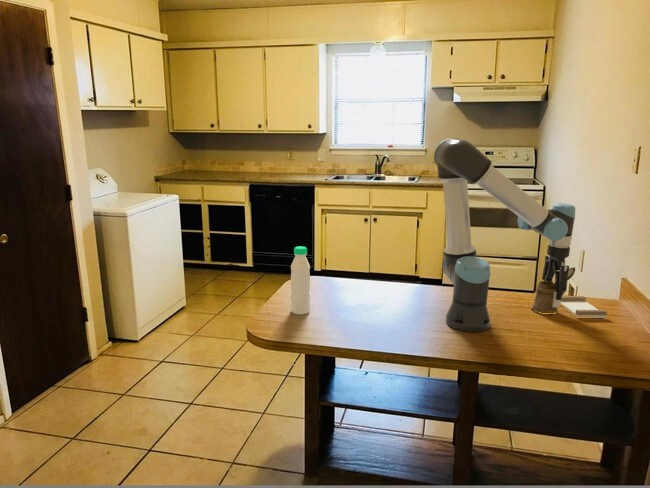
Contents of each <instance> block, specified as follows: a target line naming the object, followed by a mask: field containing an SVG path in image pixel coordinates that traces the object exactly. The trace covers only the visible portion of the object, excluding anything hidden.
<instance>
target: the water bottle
mask: <svg viewBox="0 0 650 488" xmlns="http://www.w3.org/2000/svg"><path fill="white" fill-rule="evenodd" d="M293 253H294V258H293V260H292V263H291V265H290V272H291V273H290V289H291V290H290V291H291V294H290V302H291V303H290V312H291V313H293V314H294V315H306V314H309V312H310V309H311V308H310V307H311V305H310V299H311V296H310V290H311V289H310V288H311V274H310V270H311V265H310V263H309V261H308V258H307V257H306V256H307V255H308V248H307V246H301V245H300V246H296V247H295V246H294V248H293Z"/></svg>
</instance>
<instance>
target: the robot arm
mask: <svg viewBox="0 0 650 488" xmlns="http://www.w3.org/2000/svg"><path fill="white" fill-rule="evenodd" d="M433 160H434V163H435V165H436V167H437V169H436V170H437V178H438V180H439V181H441V182H442V189H443V203H444V212H445V214H444V215H445V228H446V241H447V246H445V247H444V249H443V255H444V256H443V259H442V270H443V272H444V274H445V276H446V278H447V279H449V281H450V282H451V283H452V284H453V291H452V292H453V293H452V301H451V304H450V306H449V308H448V310H447V312H446V314H445V323H446V325H448V326H449V327H451V328H452V329H455V330H458V331H461V332H466V333H480V332H486V331H487V330H489V329H490V326H491V325H490V324H491V318H490V314H489V311H488V307H487V304H488V294H489V288H490V287H489V286H490V277H491V266H490V263H488V261H487V260H485V259H483V258H480V257H477V247H476V246H475V245H474V244H473V243H472V233H471V218H470V217H471V216H470V203H469V202H470V201H469V188H468V187H469V184H468V183H470V184H471V185H478V186H479V187H480V188H481V189H482V190H484V191H485V192H487V193H488V194H489V195H490V196H491V197H493V198H494V199H495V200H496V201H498V202H499V203H501V204H502V205H504V206H505V207H506V208H507V209H508V210H510V211H511V212H513V213H514V214H515V215H516V216H517V226H518V228H519V229H520V230H523V231H524V230H525V231H534V232H536V233H537V234H539V235H541V236H543V237H545V238H546V239H547V241H548V245H547V249H546V250H547V252H546V255H544V266H543V270H542V277H541V281H549V282H553V279H554V282H553V283H555V285H556V290H554V295H553V305H552V307H557V308H561V307H560V303H561V296H562V292H564V293H565V292H567V288H568V287H567V286H568V281H567V278H568V270H569V269H570V266H569V265H566V260H565V259H566V258H569V257H570V251H571V250H570V249H571V247H570V246H571V243H572V239H573V231H574V224H575V219H576V207H575V205H573V204H569V203H555V204H553V206H552V208H551V209H548V208H546V207H545V206H543V205H542V203H540V202H538V201H537V199H535V198H533V197H532V196H531V195H530V194H528V192H526V191H524V190H523V189H522V188H521V187H520V186H519V185H517V184H515V182H513V181H512V180H510V179H509V178H508V177H507V176H506V175H504V174H503V173H501V171H499V170H498V169H496V168H495V166H493V161H492V160H491V159H489V158H488V157H487V156H486V155H485V154H484V153H482V152H481V151H480V149H478V148H477V147H476V146H475V145H474V144H473V143H472V142H469V141H468V140H465V139H459V138H457V137H450V138H446V139H444V140H442V141H440V142H439V143H438V145H437V146H436V147H435V149H434V153H433Z"/></svg>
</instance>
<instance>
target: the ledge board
mask: <svg viewBox="0 0 650 488" xmlns="http://www.w3.org/2000/svg"><path fill="white" fill-rule="evenodd" d="M586 298H587V297H586V296H584V295H563V296H562V297H561V303H560V304H561V305H563V306H564V307H566V308H567V309H568V310H569V311H571V312H572V313H573V314H574V315H576V316H577V317H593V318H606V319H607V315H608V311H607V310H606V309H598V308H596V307H595V306H594V305H592V304H590V303H589V302H588V301H586V300H587V299H586Z"/></svg>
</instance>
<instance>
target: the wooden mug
mask: <svg viewBox="0 0 650 488" xmlns="http://www.w3.org/2000/svg"><path fill="white" fill-rule="evenodd" d="M575 272H576V267H575V266H574V267H569V270H568V278H567V282H568V281H569V280H570V279H571V278H572V277H573V276H574V274H575ZM536 290H537V291H536V294H535V297H534V301H533V304H532V306H531V310H532V309H533V310H535V311H537V312H541V313H555V312H557V313H558V307H552V305H553V295H554V290H556V285H555V282H549V281H544V280H541V281H539V283H538V285H537V288H536ZM564 294H565V292H562V296H564ZM562 296H561V297H562ZM533 310H532V311H533Z"/></svg>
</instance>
